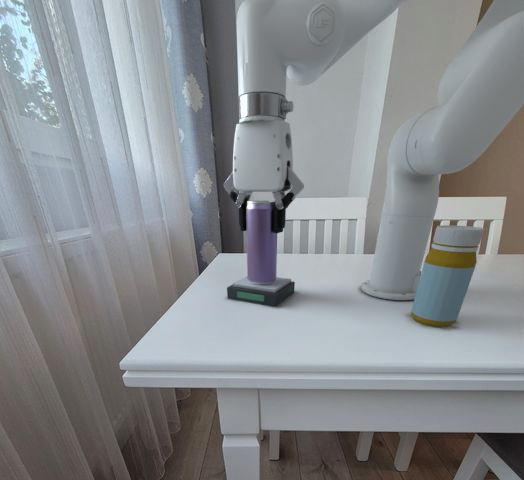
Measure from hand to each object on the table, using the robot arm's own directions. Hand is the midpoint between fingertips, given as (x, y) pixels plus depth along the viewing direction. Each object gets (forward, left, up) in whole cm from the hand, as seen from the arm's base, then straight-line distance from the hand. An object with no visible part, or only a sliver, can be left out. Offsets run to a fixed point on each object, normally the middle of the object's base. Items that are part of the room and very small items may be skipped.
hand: (261, 230), depth 56 cm
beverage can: (0, 0, -10) cm, 10 cm away
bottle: (-33, -1, -13) cm, 35 cm away
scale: (0, 0, -13) cm, 13 cm away
